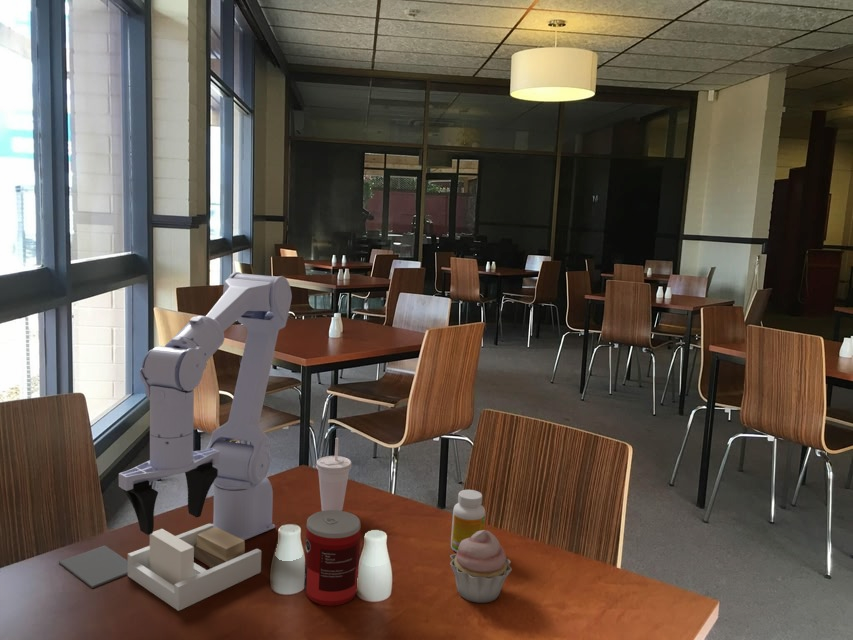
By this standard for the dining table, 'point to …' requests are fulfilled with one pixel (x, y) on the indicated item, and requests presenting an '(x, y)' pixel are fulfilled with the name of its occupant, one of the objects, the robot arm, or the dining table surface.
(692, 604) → the dining table surface
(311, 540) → the canned food
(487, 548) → the cupcake
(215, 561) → the offcut low
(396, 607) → the dining table surface
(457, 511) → the supplement bottle
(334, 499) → the smoothie
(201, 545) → the offcut top
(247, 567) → the rack
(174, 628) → the dining table surface
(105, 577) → the mat
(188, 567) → the cream rectangular block
